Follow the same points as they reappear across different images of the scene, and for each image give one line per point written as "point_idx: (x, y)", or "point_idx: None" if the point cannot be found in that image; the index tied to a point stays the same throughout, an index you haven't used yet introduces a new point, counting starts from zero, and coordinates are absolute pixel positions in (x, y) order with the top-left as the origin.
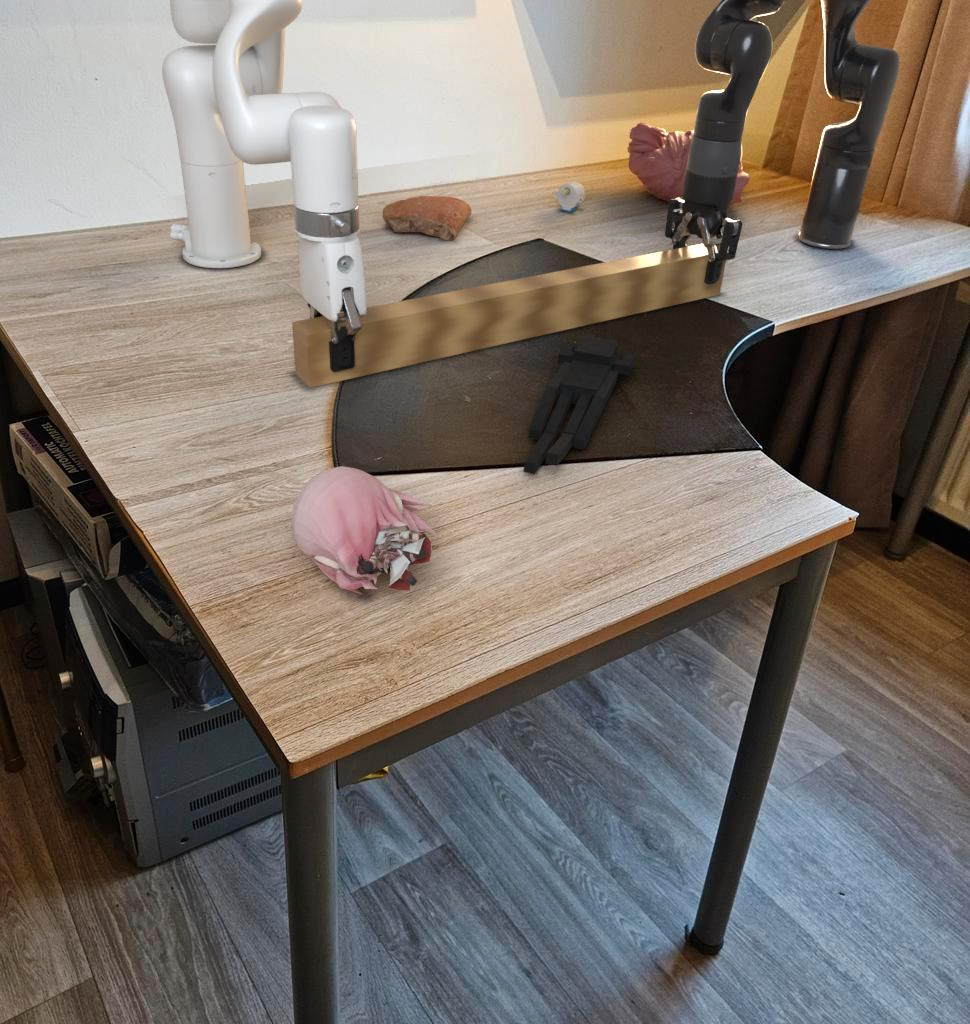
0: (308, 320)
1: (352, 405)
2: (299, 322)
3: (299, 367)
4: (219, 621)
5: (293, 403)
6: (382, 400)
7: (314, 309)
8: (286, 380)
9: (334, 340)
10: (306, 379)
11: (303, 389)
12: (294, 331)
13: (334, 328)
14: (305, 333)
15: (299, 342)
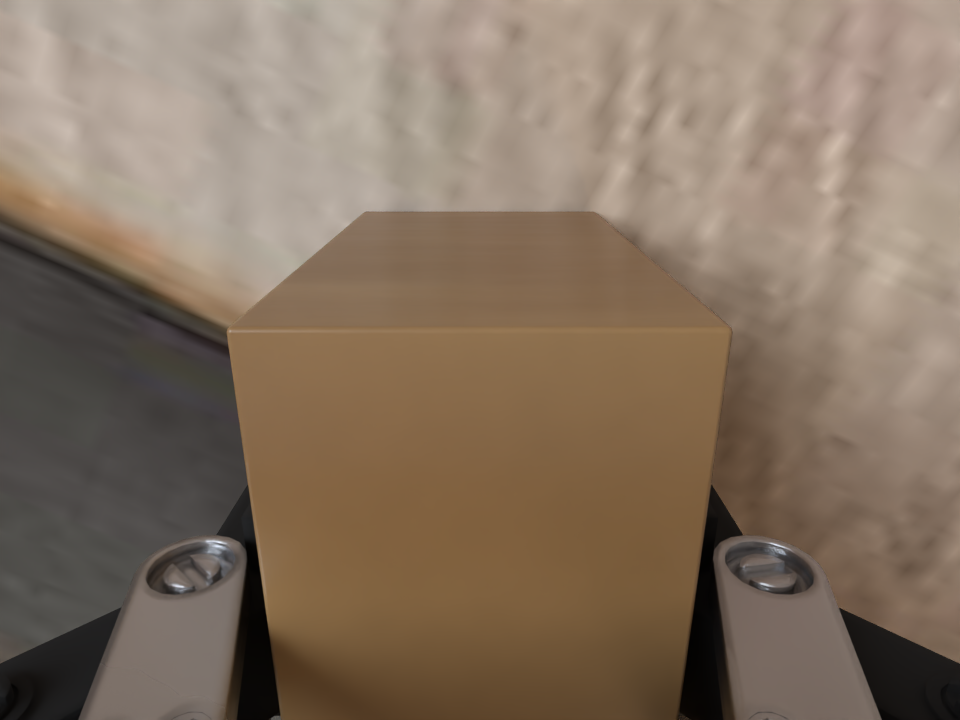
0: (650, 527)
1: (50, 348)
2: (656, 409)
3: (522, 225)
4: None
5: (190, 12)
6: (65, 510)
7: (730, 707)
8: (547, 116)
9: (193, 565)
10: (402, 217)
11: (367, 168)
12: (633, 297)
13: (95, 679)
14: (263, 335)
15: (488, 274)
